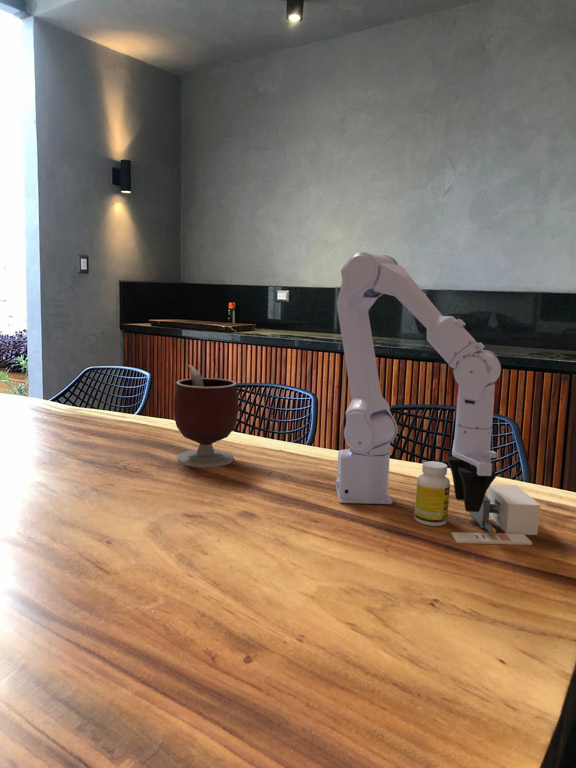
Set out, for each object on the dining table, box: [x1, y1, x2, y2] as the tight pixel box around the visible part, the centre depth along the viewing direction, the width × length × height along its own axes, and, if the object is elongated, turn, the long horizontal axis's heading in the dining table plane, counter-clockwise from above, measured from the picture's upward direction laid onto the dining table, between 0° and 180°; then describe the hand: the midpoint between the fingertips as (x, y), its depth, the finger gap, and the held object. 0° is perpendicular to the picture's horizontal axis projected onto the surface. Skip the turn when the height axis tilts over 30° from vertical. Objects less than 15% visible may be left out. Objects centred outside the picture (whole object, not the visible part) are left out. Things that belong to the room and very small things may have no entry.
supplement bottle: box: [413, 460, 451, 527], centre depth 103 cm, size 5×5×10 cm
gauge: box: [451, 483, 541, 546], centre depth 101 cm, size 14×14×5 cm
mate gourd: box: [173, 364, 239, 468], centre depth 135 cm, size 16×14×20 cm
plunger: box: [468, 495, 500, 536], centre depth 101 cm, size 8×11×5 cm
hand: (467, 505), depth 103 cm, fingers closed on plunger, 5 cm apart
